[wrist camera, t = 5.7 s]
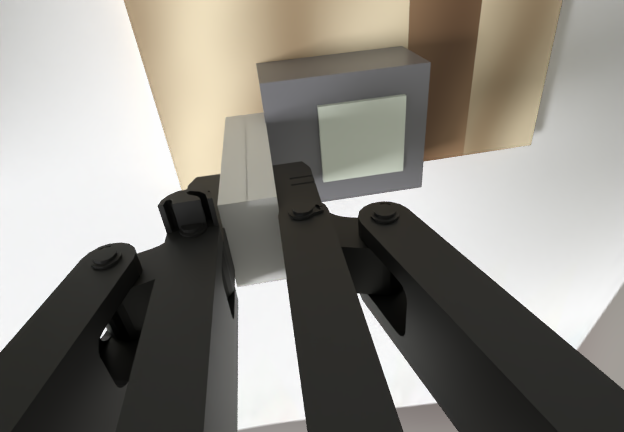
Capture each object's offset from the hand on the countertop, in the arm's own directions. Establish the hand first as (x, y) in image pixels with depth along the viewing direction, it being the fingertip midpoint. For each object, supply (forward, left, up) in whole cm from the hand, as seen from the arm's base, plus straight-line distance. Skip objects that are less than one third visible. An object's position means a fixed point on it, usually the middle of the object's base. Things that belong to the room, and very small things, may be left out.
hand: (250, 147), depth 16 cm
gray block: (+4, 0, -2) cm, 4 cm away
